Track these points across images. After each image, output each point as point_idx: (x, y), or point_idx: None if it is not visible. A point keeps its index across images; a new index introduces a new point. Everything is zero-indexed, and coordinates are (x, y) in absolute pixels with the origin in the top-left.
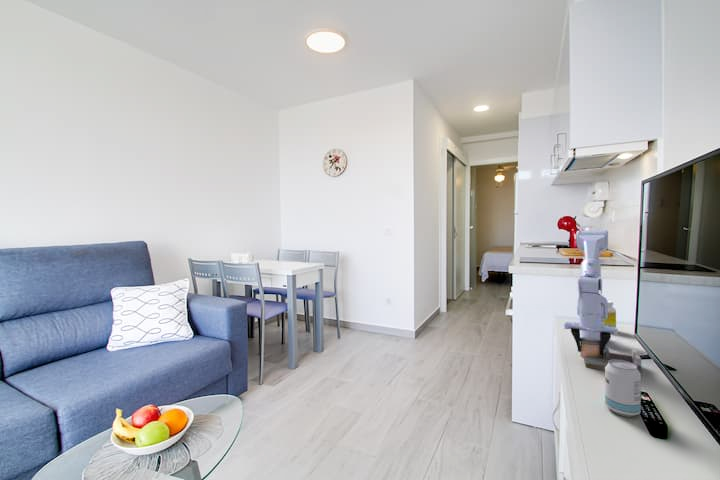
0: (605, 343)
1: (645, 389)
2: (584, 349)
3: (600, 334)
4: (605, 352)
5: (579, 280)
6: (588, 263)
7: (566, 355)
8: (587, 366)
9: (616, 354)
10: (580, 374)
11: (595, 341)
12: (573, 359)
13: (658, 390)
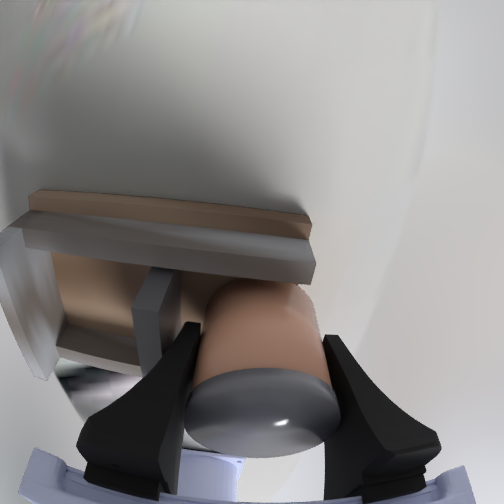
0: (144, 387)
1: (55, 18)
2: (313, 338)
3: (173, 476)
4: (163, 326)
5: None
6: None
7: (356, 347)
8: (299, 217)
9: (116, 359)
10: (372, 83)
11: (224, 411)
12: (340, 311)
13: (13, 45)
